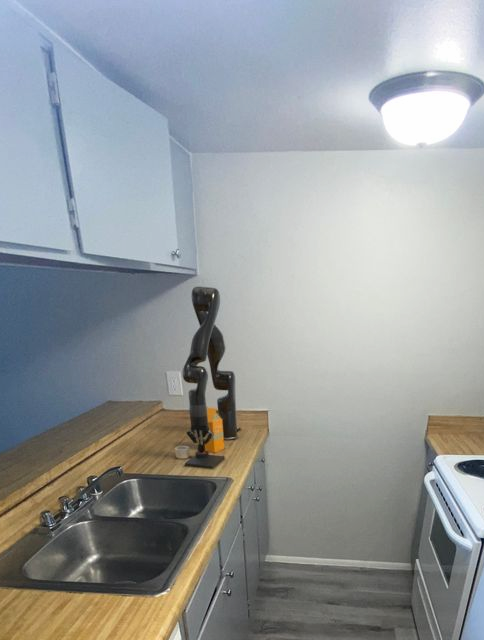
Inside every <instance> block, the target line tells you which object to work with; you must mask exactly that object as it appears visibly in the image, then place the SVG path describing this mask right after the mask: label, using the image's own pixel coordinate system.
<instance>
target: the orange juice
mask: <svg viewBox="0 0 484 640" xmlns="http://www.w3.org/2000/svg"><path fill="white" fill-rule="evenodd" d="M206 407H207V406H206ZM207 417H208V427H209V431H211V432H213V433H214V435H213V437H212V438H211V439H210V441H209V442H208V443H207V444H205V451H208V453H209V452H210V453H217V452H219V451H222V450H224V449H225V442H224V441H225V440H223V424H222V418H221V416H220V414H219V413H218V408H216V407H215V408H214V407H207ZM207 437H208V433H207V435H206V438H205V440H206V439H207Z"/></svg>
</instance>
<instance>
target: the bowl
mask: <svg viewBox="0 0 484 640" xmlns="http://www.w3.org/2000/svg"><path fill="white" fill-rule="evenodd" d="M174 451H175V452H174V453H175V458H176V459H179V460H185V459H188V458H190V456H191V455H190V453H191V452H190V447H189V446H187V445H177V446H176V447H175V448H174Z"/></svg>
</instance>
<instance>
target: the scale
mask: <svg viewBox="0 0 484 640" xmlns="http://www.w3.org/2000/svg"><path fill="white" fill-rule="evenodd" d="M204 452H205V453H204V454H199V451H198V450H197V451H195V452H194V456H193V457H192V458H190V459H188V460H187V461H186V462H185V463H184V466H185V467H188V468H189V467H190V468H198V469H199V468H200V469H210V470H214V469H215V468H216V467H217V466H218V465H219V464H220V463H222V462H223V461H225V459H226V456H224V455H216V454H209V451H204Z"/></svg>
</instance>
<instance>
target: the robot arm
mask: <svg viewBox="0 0 484 640" xmlns="http://www.w3.org/2000/svg"><path fill="white" fill-rule="evenodd" d="M191 303H192V307H193V310H194V313H195V316H196V318H197V321H198V325H199V328H198V329H197V330H196V331H195V333H194V335H193V337H192V339H191V344H190V349H189V350H190V351H189V354H188V357H187V359H186V361H185V364H184V365H183V368H182V372H181V373H182V378H183V381H184V382H186V383H188V384H196V388H191V389H189V390H188V403H189V406H188V407H189V420H190V429H189V430H187V431H186V435H187V436H188V437H189V439H190V440H191V441H192V443H193V444H197V451H199V452H200V453H203V452H204V451H205V444H207V443H208V442H209V441H210V439H211V438H212V437H213V435H214V433H213V432H211V431H209V427H208V417H207V400H206V390H207V385H208V379H209V373H208V370H207V368H206V367H204V366H203V365H201V366H200V365H199V364H201V363H204V362H206V361H207V359H208V363H209V369H210V375H211V380H212V385H213V388H214V389H215V390H216V391H227V393H226V394H225V395H223V396H219V397H217V398H216V399H217V400H216V402H217V403H216V405H217V411H218V413H219V414H220V416H221V418H222V424H223V440H224V441H231V440H235V439H238V432H239V431H240V430H241V427H238V423H237V422H238V421H237V400H236V399H237V398H236V397H237V396H236V374H235V371H232V370H220V369H219V366H220V363H221V361H222V359H223V357H224V355H225V353H226V343H225V339H224V335H223V333H222V331H221V330H220V328H219V327H218V326H217V324H215V323H216V321H217V317H218V314H219V311H220V307H221V293H220V290H219V289H218V288H216V287H211V286H210V287H208V286H194V287H193V288H192V290H191ZM207 433H208V437H207V439H206V440H205V438H206V435H207Z"/></svg>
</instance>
